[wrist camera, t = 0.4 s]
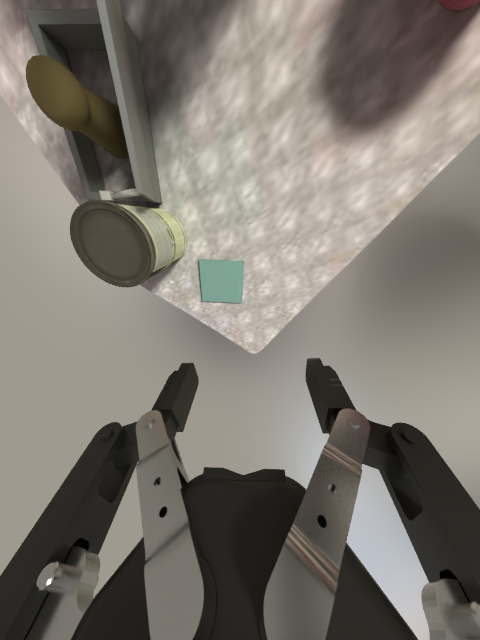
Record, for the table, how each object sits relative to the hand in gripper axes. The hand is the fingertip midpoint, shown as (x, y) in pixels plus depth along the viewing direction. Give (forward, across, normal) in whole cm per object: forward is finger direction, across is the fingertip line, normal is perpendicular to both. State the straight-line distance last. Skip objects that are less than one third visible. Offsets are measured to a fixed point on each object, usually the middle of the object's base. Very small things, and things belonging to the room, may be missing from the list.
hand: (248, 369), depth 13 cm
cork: (+28, +19, -23) cm, 41 cm away
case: (+28, +17, -23) cm, 40 cm away
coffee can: (+28, +17, -8) cm, 34 cm away
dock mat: (+28, +7, +2) cm, 29 cm away
